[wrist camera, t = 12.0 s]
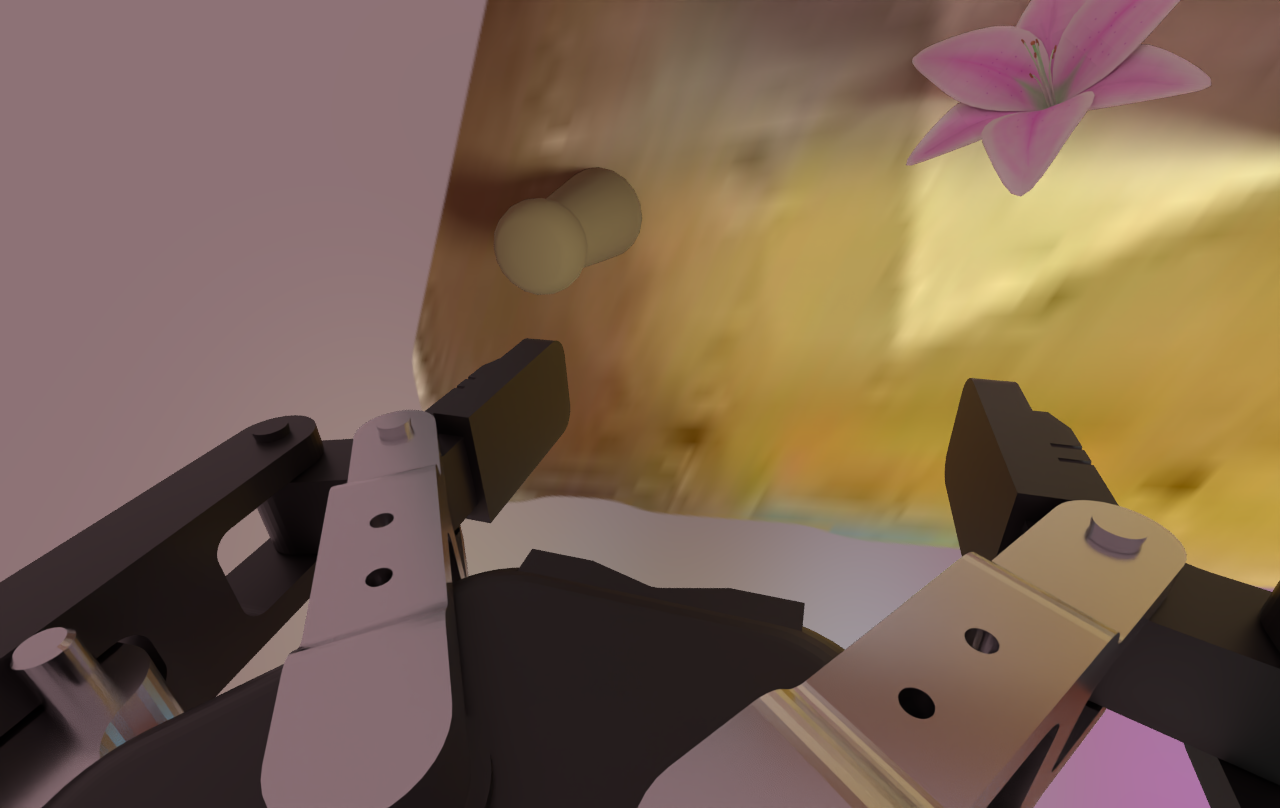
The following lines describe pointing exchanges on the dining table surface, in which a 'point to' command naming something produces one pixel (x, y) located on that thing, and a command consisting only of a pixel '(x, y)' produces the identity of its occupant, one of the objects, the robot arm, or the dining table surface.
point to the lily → (1047, 80)
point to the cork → (567, 231)
